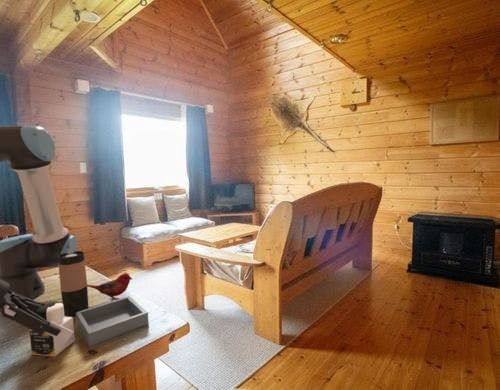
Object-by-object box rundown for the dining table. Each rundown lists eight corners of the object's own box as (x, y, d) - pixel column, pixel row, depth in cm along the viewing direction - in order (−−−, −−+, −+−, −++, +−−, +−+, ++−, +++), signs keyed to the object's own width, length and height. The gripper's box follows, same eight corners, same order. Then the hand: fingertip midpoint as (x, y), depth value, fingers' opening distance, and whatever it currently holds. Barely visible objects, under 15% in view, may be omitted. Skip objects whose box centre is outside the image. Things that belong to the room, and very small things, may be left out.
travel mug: (77, 318, 97) (71, 258, 95) (57, 316, 98) (51, 257, 96) (94, 307, 104) (89, 251, 102) (75, 305, 106) (70, 250, 104)
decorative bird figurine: (132, 301, 108) (130, 274, 107) (83, 302, 108) (81, 276, 107) (135, 297, 110) (133, 271, 109) (88, 299, 111) (85, 273, 110)
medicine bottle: (31, 354, 78) (26, 311, 77) (53, 339, 85) (49, 298, 84) (54, 357, 77) (50, 312, 76) (75, 341, 84) (71, 300, 83)
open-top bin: (77, 326, 92) (75, 312, 91) (130, 308, 102) (129, 296, 102) (90, 349, 80) (88, 333, 79) (148, 326, 90) (147, 312, 90)
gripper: (-30, 291, 78) (49, 326, 90) (-35, 323, 61) (63, 361, 73) (-5, 266, 81) (68, 303, 93) (-4, 291, 64) (85, 332, 76)
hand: (65, 328), depth 83 cm, fingers closed on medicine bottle, 10 cm apart
